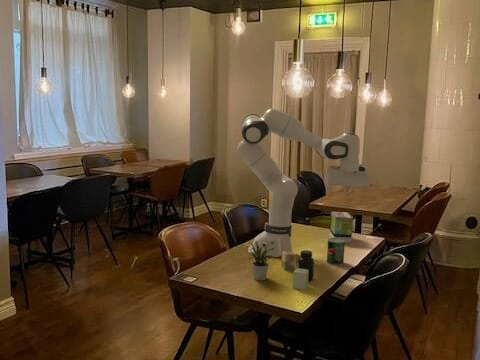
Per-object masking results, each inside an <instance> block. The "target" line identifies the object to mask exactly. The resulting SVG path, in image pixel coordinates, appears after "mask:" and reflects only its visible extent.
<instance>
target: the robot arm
mask: <svg viewBox="0 0 480 360" xmlns="http://www.w3.org/2000/svg"><path fill="white" fill-rule="evenodd" d="M269 133H273V134H275V135H277V136H279V137H281V138H283V139H286V140H289V141H292V142H293V141H296V142H300V143H303V144H305V145H307V146H309V147H310V148H313V149H314V150H315V151H316V153H317V154H318V155H319V156H320V157H321V158H324V159H328V160H331V161H332V160H334V161H335V160H339V165H329V167H327V168H326V169H327V170H326V174H327V178H326V179H327V180H326V184H327V185H330V186H342V190H343V191H344V192H343V195H344V196H351V192H352V191H353V189H354V187H356V188H357V187H360V188H362V187H363V188H368V187H369V186H370V184H371V182H370V179H371V178H370V174H369V173H368V171H369V168H368V166H366V165H363V164H361V163H360V159H359V155H360V151H361V150H360V149H361V148H360V147H361V141H360V137H359V135H357V134H355V133H351V132H350V133H349V132H344V133H342V134H341V135H339V136H337V137H335V138H331V137H321V136H319V135H317V134H315V133H313V132H311V131H309V130H308V129H306V128H305V127H304V124H303V122H302V121H301V120H299V119H298V118H296V117H295V116H293V115H291V114H289V113H287V112H285V111H283V110H279V109H276V108H269V109H267V110H266V111H265V112H264V114H263V115H262V116H260V115H258V114H255V113H251V114H248V115H246V116H245V117H244V118H243V119H242V122H241V136H242V138H243V139H242V140H241V141H240V142H239V143H238V145H237V148H236V149H237V153H238V154H239V156H240V157H241V158H242V161H243V162H244V163H245V164H246V165H247V166H248V168H250V170H251V171H252V172H253V173H254V174H255V175H256V177H257V178H258V179H259V180H260V181H261V183H262V185H264V187H265V188H266V190H268V191H269V193H271V194H272V200H271V204H270V207H269V210H268V212H269V213H268V222H265V223H264V231H262V232H261V233H259V234H257V236H255V237H254V238H253V242H252V245H253V246H254V248H255V251H256V250H257V246H256V243H255V242H257V244H258V246H259V248H261V247H262V250H261V255H262V252H264V250H265V248H266V246H267V244H268V246H267V249H266V250H268V249H270V248H272V247H273V246H275V247H273V248H272V249H271V250H270V251H269V252H268V253H267V252H266V253H267V254H266V256H267V255H272V256H271V257H274V258H279V257H281V258H282V251H293V246H292V240H291V239H292V233H293V232H292V230H293V228H292V227H293V226H292V212H293V207H294V203H295V202H294V201H295V199H296V196H297V194H298V191H299V190H298V189H299V187H298V185H297V183H296V182H295V180H294V179H292V178H290V177H288V176H286V175H285V174H284V173H283V172H282V171H281V169H280V168H279V167H278V166H279V165H277V163H276V161H275V160H274V159H273V158H272V157H271V156H270V155H269V154H268V152H267V151H266V150H265V149H264V148H263V147H262V145H261V144H260V142H262V141H263V139H264V138H265V137H266V136H267V135H269ZM346 187H349V190H346ZM263 241H264V242H263ZM264 244H265V245H264ZM252 245H251V244H250V245H249V246H250V247H249V246H248V247H247V251H248V253H249V254H250V253H252V252H253V253H254V254H255V252H254V251H253V249H252V248H253V247H252ZM250 249H251V250H252V251H251V250H250ZM256 253H257V252H256ZM255 255H256V254H255Z"/></svg>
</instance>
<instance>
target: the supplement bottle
mask: <svg viewBox="0 0 480 360" xmlns="http://www.w3.org/2000/svg"><path fill="white" fill-rule="evenodd" d="M297 268H300V269H307V270H309V273H308V282H311V281H313V280H314V278H315V277H314V275H315V259H314V258H313V251H311V250H309V249H308V250H305V249H304V250H300V255H299V258H298V259H297Z"/></svg>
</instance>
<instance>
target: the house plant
mask: <svg viewBox="0 0 480 360" xmlns="http://www.w3.org/2000/svg"><path fill="white" fill-rule="evenodd" d="M263 242H264V241H263ZM248 243H249V245H248V248H249V247H250V246H251V245H252V247H253V248H252V249H253V251H254V252H255V254H254V253H253V252H252V253H249V255H250V256H249V257H248V260H247V261H250V260H253V259H254V261H253V262H252V263H251V266H252V276H253V279H254V280H258V281H264V280H266V278H267V274H268V269H269V263H268V260H270V259H272V258H273V259H274V258H275V257H272V255H267V256H266V254H267V253H268V252H269V251H270V250H271V249H272V248H273V247H275V246H273V247H272V248H270V249H268V250H266V249H267V246H268V244H267V246H266V248H265V250H264V252H262V255H261V250H262V247H261V248H259V246H258V244H257V242H255V243H256V246H257V250H256V251H255V248H254V246H253V242H252V243H251V242H250V241H248ZM264 245H265V244H264ZM250 250H251V249H250ZM251 251H252V250H251ZM256 252H257V253H256ZM266 252H267V253H266Z"/></svg>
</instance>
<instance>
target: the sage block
mask: <svg viewBox="0 0 480 360" xmlns="http://www.w3.org/2000/svg"><path fill="white" fill-rule="evenodd" d="M308 273H309V270H307V269H300V268H298V267H295V270H294V271H293V274H292V275H293V278H292V289H295V290H300V291H306V289H307V288H308V284H309V281H308Z"/></svg>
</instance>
